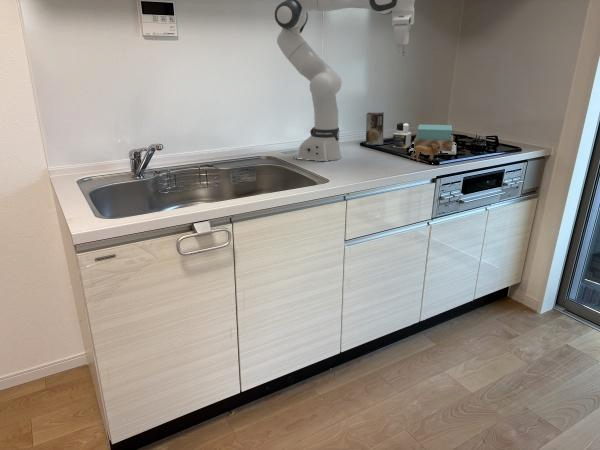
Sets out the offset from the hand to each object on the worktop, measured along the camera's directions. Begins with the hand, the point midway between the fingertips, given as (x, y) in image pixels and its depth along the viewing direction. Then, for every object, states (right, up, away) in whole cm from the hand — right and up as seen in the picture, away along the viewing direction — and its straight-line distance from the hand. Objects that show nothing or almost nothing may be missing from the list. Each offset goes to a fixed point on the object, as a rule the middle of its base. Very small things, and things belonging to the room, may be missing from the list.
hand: (401, 56), depth 187 cm
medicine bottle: (+10, -30, +45) cm, 55 cm away
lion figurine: (+15, -41, +17) cm, 47 cm away
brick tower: (+25, -32, +38) cm, 56 cm away
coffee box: (-2, -27, +54) cm, 60 cm away
